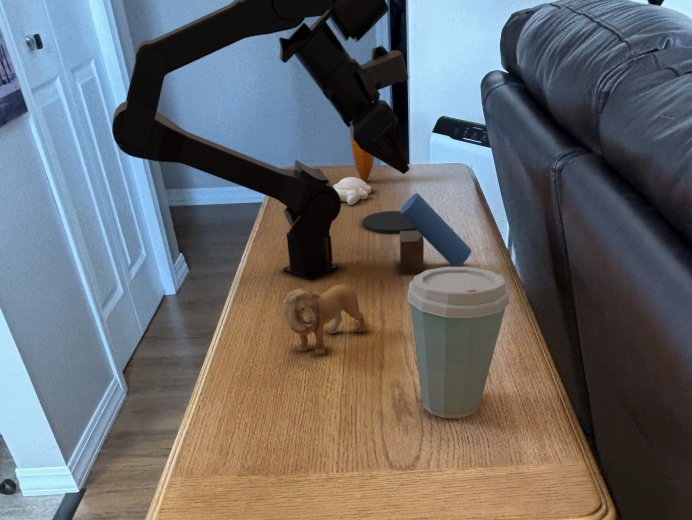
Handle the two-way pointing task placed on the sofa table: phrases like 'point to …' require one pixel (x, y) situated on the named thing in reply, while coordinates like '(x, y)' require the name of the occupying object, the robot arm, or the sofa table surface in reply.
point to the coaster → (387, 222)
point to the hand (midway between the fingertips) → (401, 164)
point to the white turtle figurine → (352, 190)
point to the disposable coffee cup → (455, 335)
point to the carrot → (362, 160)
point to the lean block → (411, 252)
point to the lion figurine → (320, 313)
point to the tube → (435, 230)
